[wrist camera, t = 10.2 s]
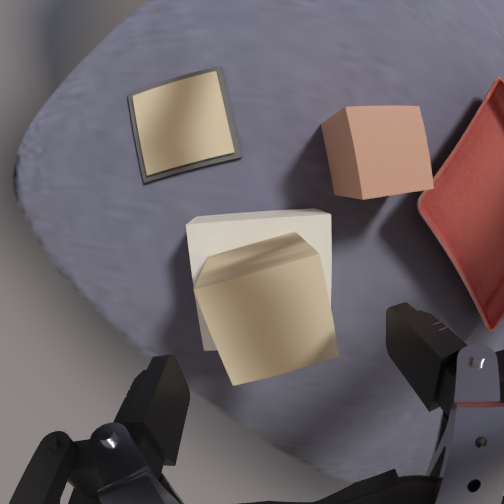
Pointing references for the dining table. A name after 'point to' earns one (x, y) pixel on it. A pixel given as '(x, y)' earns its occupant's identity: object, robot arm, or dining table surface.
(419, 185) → the terracotta cube
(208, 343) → the base slab
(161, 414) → the robot arm
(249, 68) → the dining table surface
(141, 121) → the tile
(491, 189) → the plant saucer
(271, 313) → the maple cube
